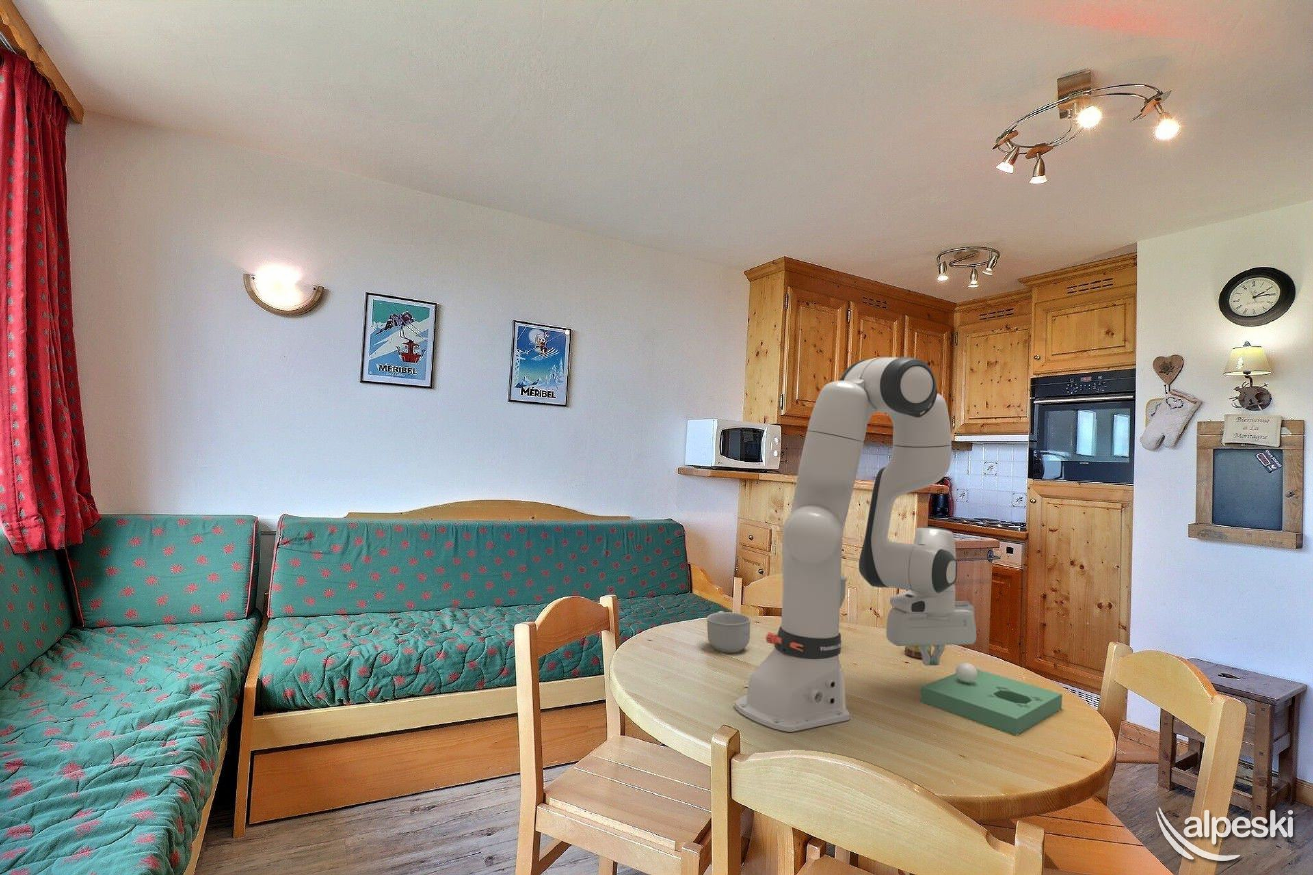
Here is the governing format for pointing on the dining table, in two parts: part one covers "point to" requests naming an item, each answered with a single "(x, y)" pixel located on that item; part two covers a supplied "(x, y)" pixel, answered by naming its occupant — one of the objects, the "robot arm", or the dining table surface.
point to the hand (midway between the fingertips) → (930, 664)
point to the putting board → (993, 701)
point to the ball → (966, 672)
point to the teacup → (728, 631)
